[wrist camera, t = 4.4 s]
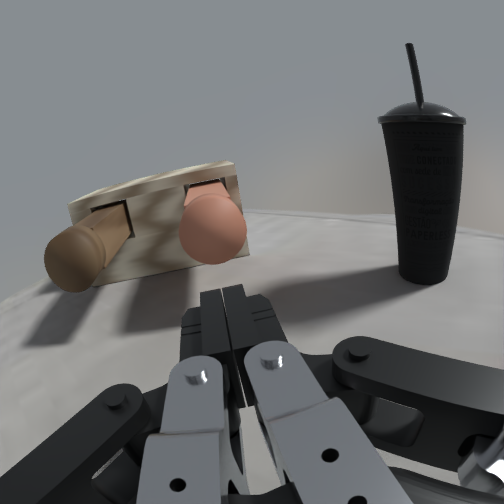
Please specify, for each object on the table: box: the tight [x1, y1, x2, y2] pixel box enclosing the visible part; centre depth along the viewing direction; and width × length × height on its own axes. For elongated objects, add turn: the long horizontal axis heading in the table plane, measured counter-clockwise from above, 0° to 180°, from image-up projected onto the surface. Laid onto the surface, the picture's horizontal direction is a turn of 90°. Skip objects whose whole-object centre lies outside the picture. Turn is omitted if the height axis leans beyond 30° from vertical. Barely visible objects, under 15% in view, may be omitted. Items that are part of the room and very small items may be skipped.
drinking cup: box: [378, 43, 466, 284], centre depth 20 cm, size 8×8×20 cm
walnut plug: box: [44, 199, 133, 292], centre depth 27 cm, size 5×16×5 cm, turn 9°
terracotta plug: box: [179, 179, 247, 265], centre depth 28 cm, size 5×16×5 cm, turn 10°
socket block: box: [67, 160, 250, 287], centre depth 37 cm, size 20×12×10 cm, turn 100°
